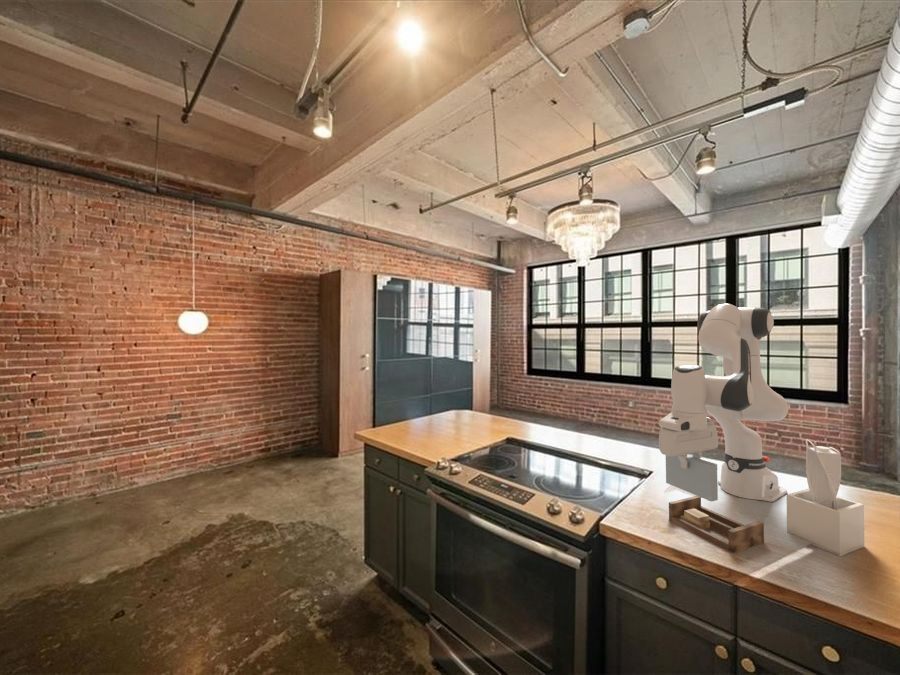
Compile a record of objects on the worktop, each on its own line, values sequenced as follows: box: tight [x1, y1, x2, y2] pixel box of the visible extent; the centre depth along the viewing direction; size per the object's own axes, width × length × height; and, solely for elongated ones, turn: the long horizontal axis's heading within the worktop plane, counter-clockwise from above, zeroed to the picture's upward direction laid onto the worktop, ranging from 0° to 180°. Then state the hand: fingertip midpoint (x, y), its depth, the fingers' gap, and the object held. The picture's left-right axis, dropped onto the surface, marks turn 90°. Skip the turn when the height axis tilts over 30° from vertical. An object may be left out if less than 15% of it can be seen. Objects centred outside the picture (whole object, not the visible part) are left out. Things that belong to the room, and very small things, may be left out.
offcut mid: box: [680, 515, 711, 531], centre depth 115 cm, size 4×6×2 cm
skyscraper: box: [805, 438, 842, 510], centre depth 108 cm, size 8×8×28 cm
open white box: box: [785, 488, 865, 557], centre depth 108 cm, size 12×12×12 cm
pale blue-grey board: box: [665, 454, 719, 502], centre depth 108 cm, size 2×14×10 cm, turn 20°
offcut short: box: [684, 509, 709, 524], centre depth 115 cm, size 4×5×2 cm
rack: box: [668, 496, 765, 554], centre depth 112 cm, size 13×19×7 cm
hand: (689, 466), depth 108 cm, fingers closed on pale blue-grey board, 2 cm apart
